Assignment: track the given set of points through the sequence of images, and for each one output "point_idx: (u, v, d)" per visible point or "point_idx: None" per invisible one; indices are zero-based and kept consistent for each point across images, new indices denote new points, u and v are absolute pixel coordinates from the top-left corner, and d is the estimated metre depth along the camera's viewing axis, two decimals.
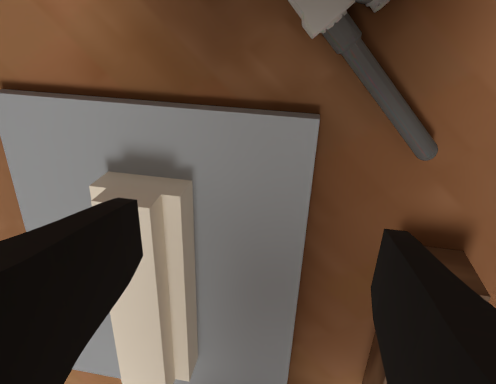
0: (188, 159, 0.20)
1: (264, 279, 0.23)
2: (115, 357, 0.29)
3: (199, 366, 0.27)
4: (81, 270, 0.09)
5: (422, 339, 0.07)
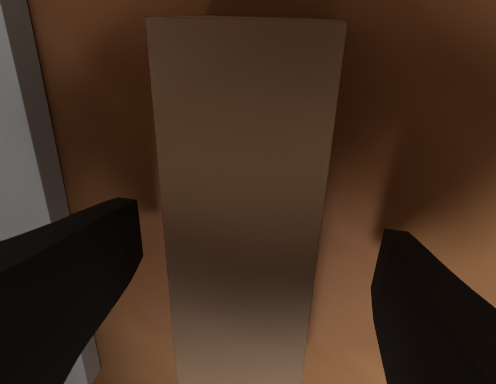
0: None
1: None
2: None
3: None
4: (81, 270, 0.09)
5: (422, 339, 0.07)
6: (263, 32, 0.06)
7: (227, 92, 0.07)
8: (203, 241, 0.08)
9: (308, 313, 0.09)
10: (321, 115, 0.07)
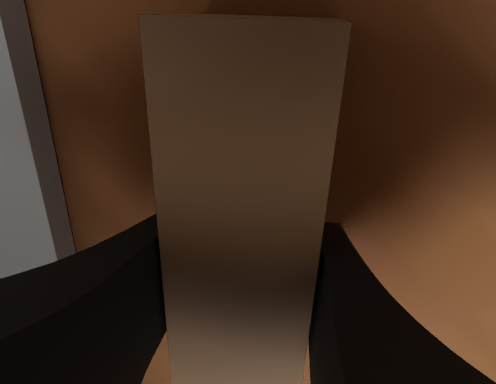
0: None
1: None
2: None
3: None
4: (152, 281, 0.08)
5: (324, 324, 0.07)
6: (263, 30, 0.06)
7: (225, 94, 0.07)
8: (199, 248, 0.08)
9: (308, 324, 0.09)
10: (324, 119, 0.06)
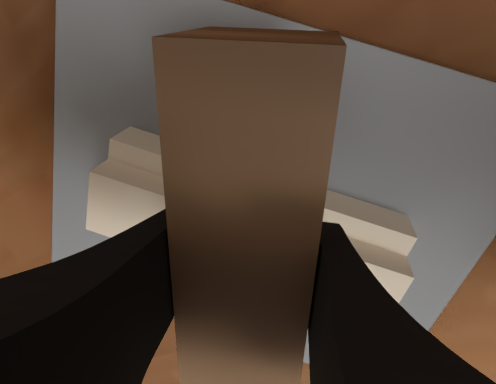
0: (107, 122, 0.18)
1: None
2: None
3: (428, 220, 0.18)
4: (152, 280, 0.08)
5: (323, 324, 0.07)
6: (266, 53, 0.07)
7: (231, 109, 0.07)
8: (206, 249, 0.09)
9: (307, 319, 0.09)
10: (321, 132, 0.07)
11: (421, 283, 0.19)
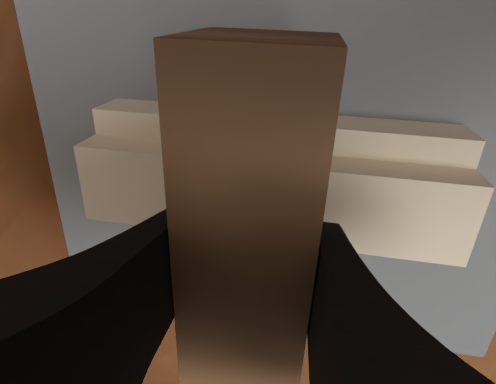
0: (91, 99, 0.16)
1: None
2: (461, 271, 0.17)
3: (492, 124, 0.14)
4: (153, 281, 0.08)
5: (322, 323, 0.07)
6: (267, 54, 0.07)
7: (232, 110, 0.07)
8: (207, 249, 0.09)
9: (307, 319, 0.09)
10: (322, 133, 0.07)
11: None
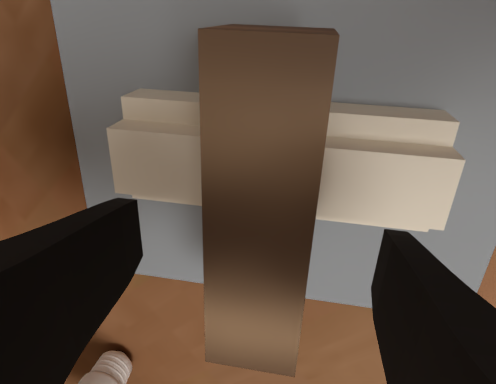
0: (117, 90, 0.18)
1: None
2: (444, 242, 0.19)
3: (468, 110, 0.16)
4: (81, 270, 0.09)
5: (422, 339, 0.07)
6: (281, 40, 0.09)
7: (254, 82, 0.10)
8: (231, 195, 0.11)
9: (309, 253, 0.12)
10: (321, 99, 0.10)
11: (477, 186, 0.17)
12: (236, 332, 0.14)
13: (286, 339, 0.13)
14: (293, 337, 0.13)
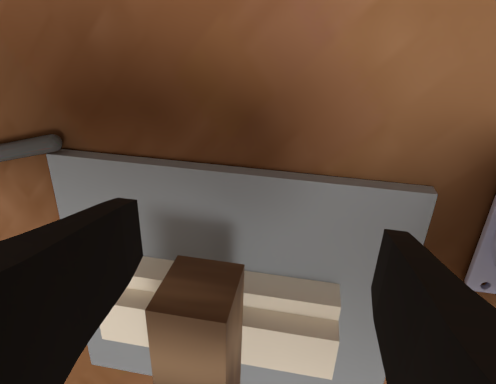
0: None
1: (211, 204, 0.22)
2: (350, 364, 0.25)
3: (355, 285, 0.22)
4: (81, 270, 0.09)
5: (422, 339, 0.07)
6: (193, 321, 0.15)
7: (180, 337, 0.16)
8: None
9: None
10: (220, 349, 0.16)
11: (368, 331, 0.24)
12: None
13: None
14: None
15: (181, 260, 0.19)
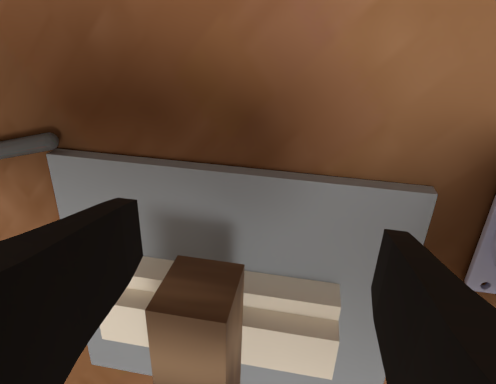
0: None
1: (211, 204, 0.22)
2: (350, 364, 0.25)
3: (355, 285, 0.22)
4: (81, 270, 0.09)
5: (422, 339, 0.07)
6: (193, 321, 0.15)
7: (180, 337, 0.16)
8: None
9: None
10: (220, 349, 0.16)
11: (368, 331, 0.24)
12: None
13: None
14: None
15: (181, 260, 0.19)
